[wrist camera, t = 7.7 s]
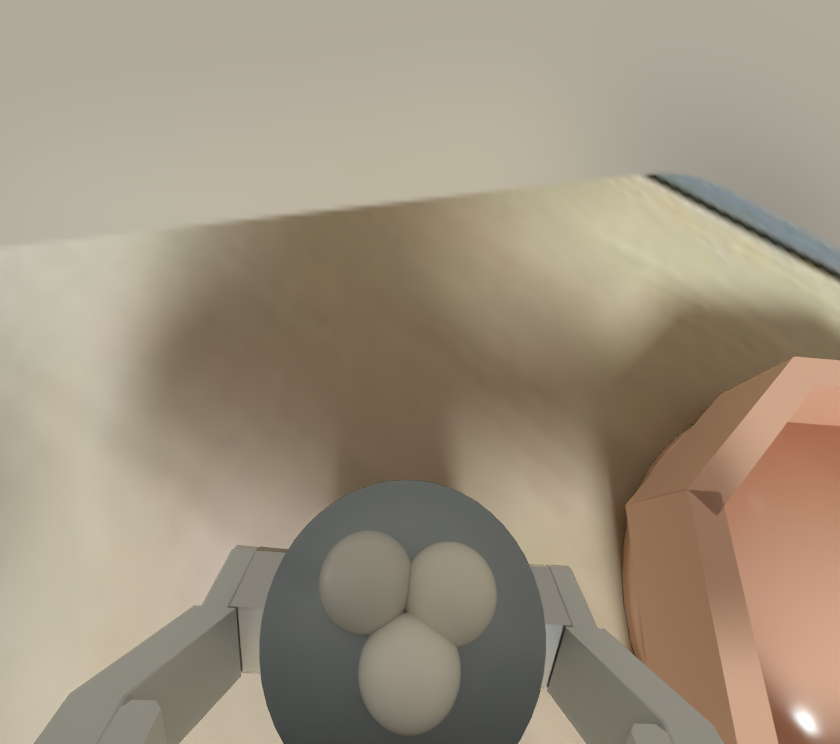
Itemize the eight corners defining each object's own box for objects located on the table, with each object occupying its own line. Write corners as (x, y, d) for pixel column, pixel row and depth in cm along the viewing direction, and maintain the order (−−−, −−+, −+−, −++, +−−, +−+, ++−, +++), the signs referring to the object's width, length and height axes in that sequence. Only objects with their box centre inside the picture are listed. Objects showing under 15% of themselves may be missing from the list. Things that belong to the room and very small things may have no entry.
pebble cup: (317, 669, 14) (204, 841, 5) (337, 518, 16) (278, 461, 7) (461, 677, 14) (579, 855, 5) (463, 526, 16) (553, 481, 7)
